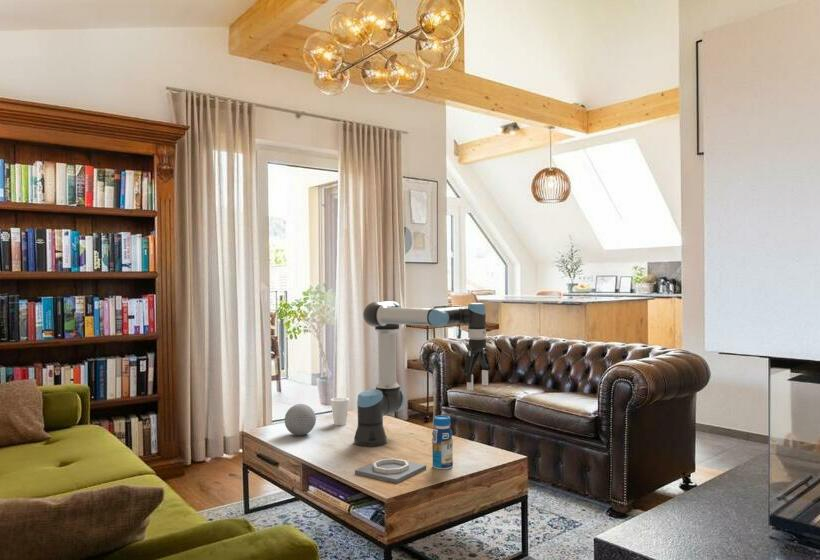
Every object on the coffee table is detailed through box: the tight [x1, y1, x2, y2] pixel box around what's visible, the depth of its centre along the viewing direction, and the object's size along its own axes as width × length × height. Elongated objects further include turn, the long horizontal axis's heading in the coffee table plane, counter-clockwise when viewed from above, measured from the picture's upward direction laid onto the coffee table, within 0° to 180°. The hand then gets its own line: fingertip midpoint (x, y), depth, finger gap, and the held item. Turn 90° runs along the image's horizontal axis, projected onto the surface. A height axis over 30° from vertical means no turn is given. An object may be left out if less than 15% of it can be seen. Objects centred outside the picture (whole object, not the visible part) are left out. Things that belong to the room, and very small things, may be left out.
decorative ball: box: [284, 403, 317, 436], centre depth 295 cm, size 15×15×15 cm
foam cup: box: [330, 396, 350, 426], centre depth 316 cm, size 10×9×13 cm
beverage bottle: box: [431, 415, 454, 470], centre depth 243 cm, size 8×8×20 cm
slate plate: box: [354, 456, 427, 484], centre depth 238 cm, size 20×20×3 cm
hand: (477, 387), depth 263 cm, fingers open, 13 cm apart
